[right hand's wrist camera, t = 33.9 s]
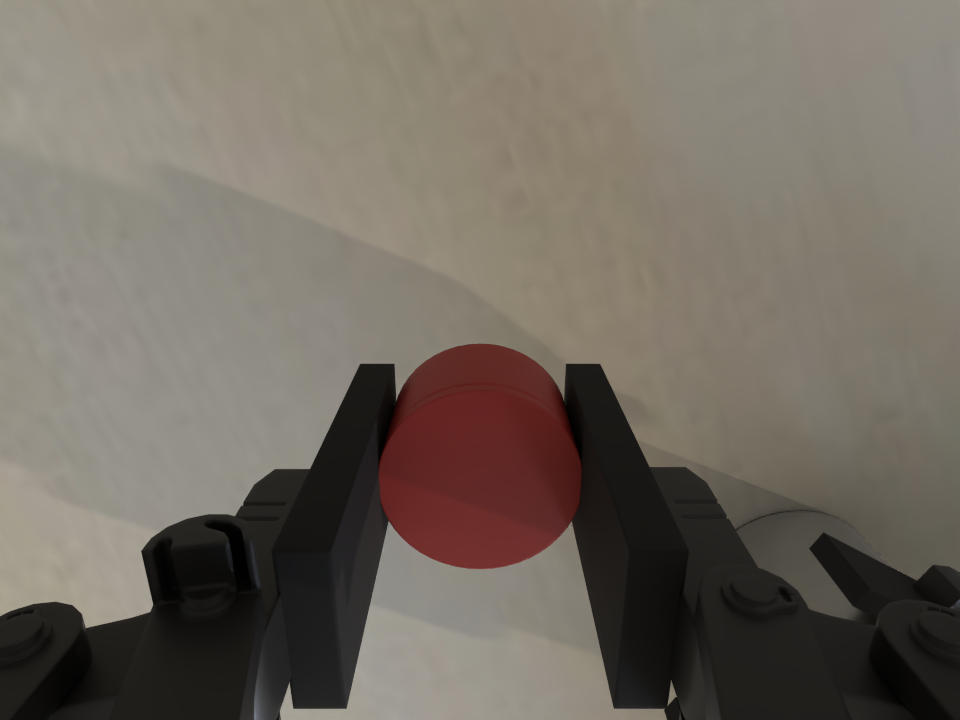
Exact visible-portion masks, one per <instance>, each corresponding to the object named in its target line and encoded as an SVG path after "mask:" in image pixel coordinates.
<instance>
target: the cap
mask: <svg viewBox="0 0 960 720" xmlns="http://www.w3.org/2000/svg"><path fill="white" fill-rule="evenodd" d="M581 473H582V462H581V458H580V454H579V451H578V447H577V444H576V441H575V437H574V434H573V430H572V427H571V423H570V420H569V417H568V413H567V410H566V406H565V403H564V400H563V397H562V394H561V392H560V390H559V388H558V386H557V385H556V383H555V382H554V380H553V379H552V377H551V376H550V375H549V374H548V373H547V372H546V371H545V369H544V368H542V367H541V366H540V365H539V364H538V363H536V362H535V361H534V360H532V359H531V358H529V357H527V356H526V355H524V354H522V353H520V352H518V351H515V350H512V349H509V348H506V347H503V346H499V345H492V344H469V345H463V346H458V347H454V348H451V349H448V350H445V351H443V352H441V353H439V354H437V355H434V356H433V357H431V358H430V359H428V360H427V361H425V362H424V363H423V364H422V365H420V366H419V367H418V368H417V369H416V370H415V371H414V372H413V373H412V374H411V375H410V377H409V378H408V379H407V381H406V382H405V384H404V385H403V387H402V389H401V391H400V393H399V395H398V398H397V401H396V405H395V408H394V411H393V415H392V418H391V422H390V425H389V429H388V432H387V435H386V439H385V442H384V446H383V449H382V453H381V456H380V460H379V482H380V497H381V505H382V508H383V510H384V512H385V514H386V517H387V519H388V520H389V522H390V523H391V525H392V526H393V528H394V529H395V530H396V531H397V533H398V534H399V535H400V536H401V537H402V538H403V539H404V540H405V541H406V542H407V543H408V544H409V545H411V546H412V547H413V548H415V549H416V550H418V551H419V552H421V553H422V554H424V555H426V556H428V557H430V558H432V559H434V560H437V561H439V562H442V563H445V564H448V565H452V566H456V567H462V568H470V569H490V568H498V567H504V566H508V565H512V564H516V563H519V562H521V561H524V560H526V559H529V558H531V557H533V556H534V555H536V554H538V553H540V552H541V551H543V550H544V549H546V548H547V547H548V546H550V545H551V544H552V543H553V542H554V541H555V540H557V539H558V538H559V537H560V536H561V534H562V533H563V532H564V531H565V530H566V528H567V527H568V526H569V524H570V522H571V521H572V519H573V518H574V515H575V513H576V511H577V509H578V507H579V502H580V488H581Z"/></svg>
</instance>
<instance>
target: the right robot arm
mask: <svg viewBox="0 0 960 720" xmlns="http://www.w3.org/2000/svg"><path fill="white" fill-rule="evenodd" d="M564 403H565V406H566V410H567V413H568V417H569V420H570V423H571V427H572V430H573V434H574V437H575V441H576V444H577V447H578V451H579V454H580V458H581V462H582V473H581V488H580V502H579V507H578V509H577V511H576V513H575V515H574V518H573V519H572V524H573V528H574V533H575V537H576V542H577V546H578V551H579V555H580V559H581V564H582V568H583V573H584V577H585V582H586V586H587V591H588V595H589V600H590V604H591V608H592V613H593V617H594V622H595V626H596V631H597V635H598V640H599V644H600V649H601V653H602V658H603V662H604V666H605V671H606V675H607V680H608V684H609V689H610V693H611V698H612V702H613V707H614V709H667V705H668V698H669V690H670V683H671V680H672V683H673V686H674V689H675V692H676V695H677V698H678V701H679V704H680V707H681V710H680V717H679V720H960V613H959V612H957V611H955V610H953V609H951V608H947V607H944V606H942V605H938V604H934V603H931V602H928V601H919V600H909V599H904V600H899V601H894V602H889V603H888V604H887V605H886V606H885V607H884V608H883V609H881V610H880V612H879V615H878V619H877V622H876V626H875V625H870V624H866V623H861V622H857V621H852V620H848V619H843V618H839V617H834V616H830V615H827V614H823V613H820V612H817V611H813V610H811V609H809V608H808V606H807V604H806V602H805V601H804V599H803V598H802V596H801V595H800V593H799V592H798V590H797V589H795V588H794V587H793V586H792V585H790V584H789V583H788V582H787V581H785V580H784V579H783V578H781V577H779V576H777V575H775V574H773V573H770V572H768V571H766V570H764V569H761V568H758V566H757V564H756V563H755V561H754V560H753V558H752V556H751V555H750V553H749V551H748V550H747V548H746V546H745V545H744V543H743V542H742V540H741V538H740V537H739V535H738V533H737V532H736V530H735V528H734V527H733V525H732V524H731V522H730V520H729V519H727V518H726V514H725V512H724V511H723V509H722V507H721V506H720V504H717V499H716V497H715V496H714V494H713V493H712V491H711V489H710V488H709V486H708V484H707V483H706V482H705V481H704V480H702V479H701V478H700V477H698V476H697V475H695V474H694V473H693V472H691V471H690V470H689V469H687V468H686V467H649V465H648V463H647V461H646V459H645V457H644V455H643V453H642V451H641V449H640V447H639V444H638V442H637V440H636V438H635V436H634V434H633V432H632V430H631V428H630V426H629V423H628V421H627V419H626V417H625V415H624V413H623V411H622V409H621V407H620V405H619V403H618V400H617V398H616V396H615V394H614V392H613V390H612V388H611V386H610V384H609V382H608V379H607V377H606V375H605V373H604V371H603V369H602V367H601V365H600V364H566V375H565V394H564ZM395 405H396V387H395V367H394V364H360V366H359V368H358V370H357V372H356V374H355V376H354V378H353V380H352V382H351V385H350V387H349V389H348V391H347V393H346V395H345V397H344V399H343V401H342V403H341V406H340V408H339V410H338V412H337V414H336V416H335V418H334V420H333V422H332V424H331V426H330V429H329V431H328V433H327V435H326V437H325V439H324V441H323V443H322V445H321V447H320V450H319V452H318V454H317V456H316V458H315V460H314V462H313V464H312V466H311V468H310V469H275V470H273V471H272V472H271V473H269V474H268V475H267V476H265V477H264V478H263V479H261V480H260V481H259V482H257V483H256V484H254V486H253V488H252V489H251V491H250V493H249V494H248V496H247V498H246V499H245V501H244V505H243V506H241V507H240V509H239V511H238V512H237V514H236V516H231V515H228V514H208V515H203V516H199V517H194V518H189V519H186V520H183V521H181V522H178V523H176V524H174V525H171V526H169V527H167V528H165V529H164V530H162V531H161V532H160V533H158V534H157V535H155V536H154V537H152V538H151V539H150V541H149V542H148V543H147V544H146V546H145V547H144V548H143V550H142V551H141V552H142V557H143V561H144V565H145V570H146V574H147V579H148V583H149V587H150V592H151V596H152V601H153V607H152V610H151V612H149V613H146V614H143V615H140V616H136V617H133V618H129V619H125V620H120V621H116V622H111V623H107V624H102V625H98V626H93V627H89V628H85V624H84V620H83V617H82V614H81V613H80V612H79V611H78V610H77V609H76V608H75V607H74V606H73V605H68V604H64V603H59V602H49V603H39V604H32V605H29V606H26V607H23V608H19V609H16V610H13V611H10V612H8V613H6V614H4V615H2V616H0V720H281V717H280V709H281V706H282V703H283V700H284V697H285V694H286V691H287V688H288V685H289V682H290V688H291V695H292V702H293V709H346V708H347V704H348V700H349V695H350V691H351V686H352V682H353V677H354V673H355V668H356V664H357V659H358V655H359V650H360V646H361V642H362V637H363V633H364V628H365V624H366V619H367V615H368V610H369V606H370V601H371V597H372V592H373V588H374V584H375V579H376V575H377V570H378V566H379V561H380V557H381V552H382V548H383V543H384V539H385V534H386V530H387V526H388V521H389V520H388V519H387V517H386V514H385V512H384V510H383V508H382V505H381V497H380V482H379V460H380V456H381V453H382V449H383V446H384V442H385V439H386V435H387V432H388V429H389V425H390V422H391V418H392V415H393V411H394V408H395Z"/></svg>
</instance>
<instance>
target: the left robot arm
mask: <svg viewBox="0 0 960 720" xmlns="http://www.w3.org/2000/svg"><path fill="white" fill-rule="evenodd" d="M809 549H810V551H811V552H812V553H813V555H814V556H815V557H816V559H817V560H818V561H819V563H820V564H821V565H822V567H823V568H824V569H825V570H826V572H827V573H828V574H829V576H830V577H831V578H832V580H833V581H834V582H835V584H836V585H837V586H838V588H839V589H840V590H841V592H842V593H843V594H844V595H845V597H846V598H847V599H848V601H849V602H850V603H851V605H852V606H853V607H855V608H857V609H859V610H861V611H863V612H865V613H867V614H869V615H871V616H873V617H875V618H877V619H878V615H879V612H880V610H881V609H883V608H884V607H885V606H886V605H887V604H888V603H889V602H894V601H899V600H904V599H909V600H919V601H928V602H931V603H934V604H938V605H942V606H944V607H947V608H951V609H953V610H955V611H957V612H959V613H960V572H958V571H956V570H954V569H952V568H950V567H947V566H938V565H932V566H931V567H930V568H929V570H928V571H927V572H926V573H925V574H924V575H923V576H922V577H921V578H920V579H919V580H918V581H916V580H914V579H912V578H911V577H909V576H907V575H905V574H903V573H901V572H899V571H897V570H895V569H893V568H891V567H889V566H887V565H886V564H884V563H882V562H880V561H878V560H876V559H874V558H872V557H870V556H868V555H866V554H864V553H862V552H861V551H859V550H857V549H855V548H853V547H851V546H849V545H847V544H845V543H843V542H841V541H839V540H838V539H836V538H834V537H832V536H830V535H828V534H826V533H824V532H823V533H822V534H821V536H820V537H819V538H818V539H817V540H816V541H815V542H814V543H813V544H812V546H811V547H810V548H809ZM680 710H681V707H680V704H679V701H678V698H677V697H675V699H674V700H673V701H672V702H671V703H670V704H669V705H668V706H667V709H665V710H664V711H665V714H666V717H667V720H679V717H680Z"/></svg>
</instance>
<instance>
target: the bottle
mask: <svg viewBox="0 0 960 720" xmlns="http://www.w3.org/2000/svg"><path fill="white" fill-rule="evenodd" d="M736 532H737V533H738V535H739V537H740V538H741V540H742V542H743V543H744V545H745V546H746V548H747V550H748V551H749V553H750V555H751V556H752V558H753V560H754V561H755V563H756V564H757V566H758V568H761V569H764V570H766V571H768V572H770V573H773V574H775V575H777V576H779V577H781V578H783V579H784V580H785V581H787V582H788V583H789V584H790V585H792V586H793V587H794V588H795V589H797V590H798V592H799V593H800V595H801V596H802V598H803V599H804V601H805V602H806V604H807V606H808V608H809V609H811V610H813V611H817V612H820V613H823V614H827V615H830V616H834V617H839V618H843V619H848V620H852V621H857V622H861V623H866V624H870V625H875V626H876V622H877V618H875V617H873V616H871V615H869V614H867V613H865V612H863V611H861V610H859V609H857V608H855V607H853V606H852V605H851V603H850V602H849V601H848V599H847V598H846V597H845V595H844V594H843V593H842V592H841V590H840V589H839V588H838V586H837V585H836V584H835V582H834V581H833V580H832V578H831V577H830V576H829V574H828V573H827V572H826V570H825V569H824V568H823V567H822V565H821V564H820V563H819V561H818V560H817V559H816V557H815V556H814V555H813V553H812V552H811V551H810V549H809V548H810V547H811V546H812V544H813V543H814V542H815V541H816V540H817V539H818V538H819V537H820V536H821V534H822V533H823V532H824V533H826V534H828V535H830V536H832V537H834V538H836V539H838V540H839V541H841V542H843V543H845V544H847V545H849V546H851V547H853V548H855V549H857V550H859V551H861V552H862V553H864V554H866V555H868V556H870V557H872V558H874V559H876V560H878V561H880V562H882V563H884V564H886V565H887V566H889V565H888V564H887V563H886V562H885V561H884V560H883V559H882V557H881V556H880V555H879V554H878V553H877V552H876V551H875V550H874V549H873V547H872V546H871V545H870V544H869V543H868V542H867V541H866V540H865V539H864V538H863V536H862V535H861V534H860V533H859V532H858V531H857V530H855V529H854V528H853V527H852V526H850V525H849V524H847V523H846V522H844V521H842V520H840V519H838V518H836V517H833V516H830V515H827V514H823V513H818V512H812V511H788V512H782V513H776V514H772V515H769V516H765V517H762V518H760V519H757V520H755V521H752V522H750V523H748V524H746V525H744V526H742V527H741V528H739V529H738V530H736ZM889 567H890V566H889Z"/></svg>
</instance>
